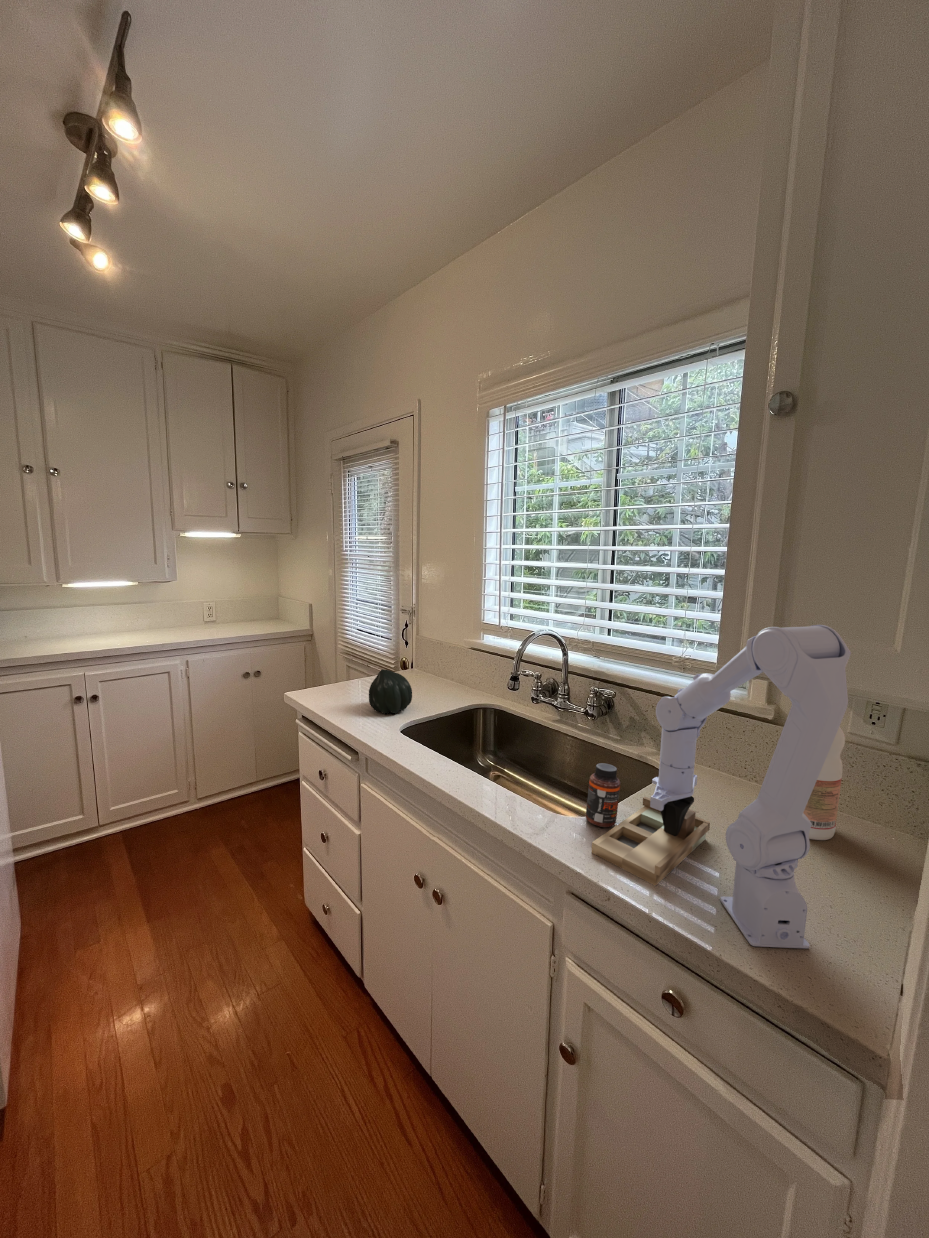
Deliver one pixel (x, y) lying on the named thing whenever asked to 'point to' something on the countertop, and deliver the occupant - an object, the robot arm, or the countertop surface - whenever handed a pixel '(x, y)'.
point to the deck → (647, 844)
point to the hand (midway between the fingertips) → (671, 833)
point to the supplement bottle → (603, 796)
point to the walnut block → (687, 824)
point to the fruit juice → (826, 793)
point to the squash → (390, 692)
